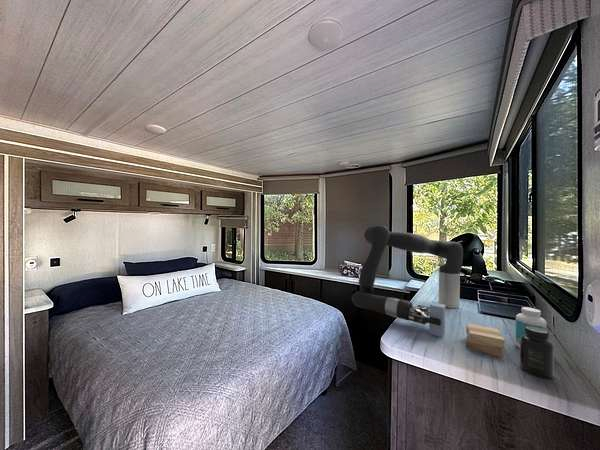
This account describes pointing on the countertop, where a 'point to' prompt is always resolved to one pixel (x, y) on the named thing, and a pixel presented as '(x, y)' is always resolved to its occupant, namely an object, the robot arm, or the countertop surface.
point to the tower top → (485, 336)
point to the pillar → (439, 313)
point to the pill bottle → (528, 322)
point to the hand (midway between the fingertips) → (443, 319)
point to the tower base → (483, 348)
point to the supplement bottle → (537, 352)
